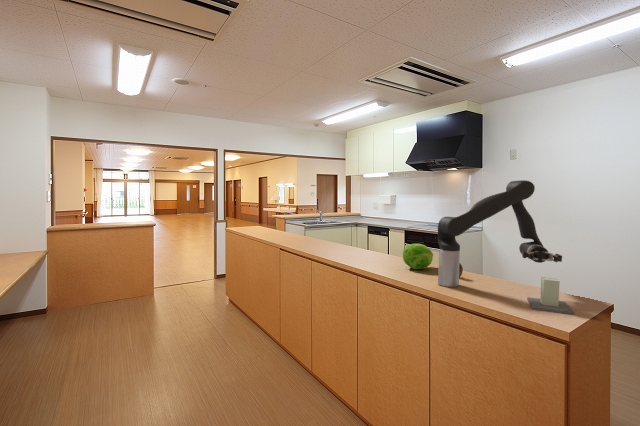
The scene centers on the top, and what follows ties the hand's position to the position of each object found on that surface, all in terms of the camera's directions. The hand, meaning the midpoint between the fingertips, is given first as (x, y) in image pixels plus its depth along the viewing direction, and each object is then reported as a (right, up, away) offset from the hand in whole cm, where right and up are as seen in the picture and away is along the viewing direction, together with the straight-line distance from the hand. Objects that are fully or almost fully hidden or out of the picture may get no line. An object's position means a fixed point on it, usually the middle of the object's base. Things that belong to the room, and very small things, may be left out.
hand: (544, 258), depth 138 cm
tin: (-24, -15, +40) cm, 49 cm away
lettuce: (-36, -14, +56) cm, 69 cm away
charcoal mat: (-4, -18, -9) cm, 20 cm away
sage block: (-4, -17, -9) cm, 19 cm away
